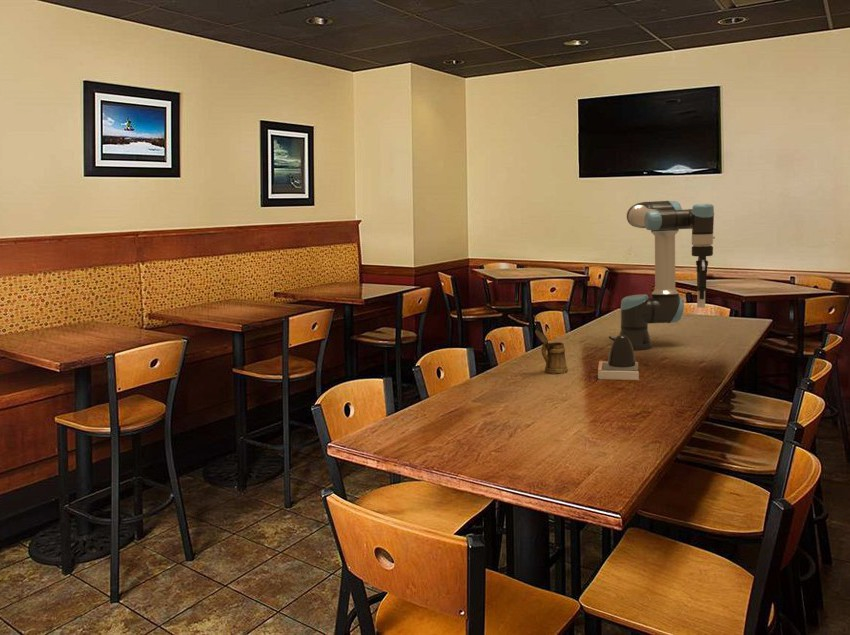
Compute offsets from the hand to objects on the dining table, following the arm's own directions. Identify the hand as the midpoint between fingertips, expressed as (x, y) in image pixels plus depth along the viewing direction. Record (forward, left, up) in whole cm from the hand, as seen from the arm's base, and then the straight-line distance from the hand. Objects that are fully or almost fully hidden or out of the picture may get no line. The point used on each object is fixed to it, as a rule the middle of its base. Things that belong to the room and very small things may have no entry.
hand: (701, 307), depth 275 cm
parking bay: (+11, -30, -24) cm, 40 cm away
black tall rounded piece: (+9, -29, -25) cm, 39 cm away
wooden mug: (+10, -56, -25) cm, 62 cm away
